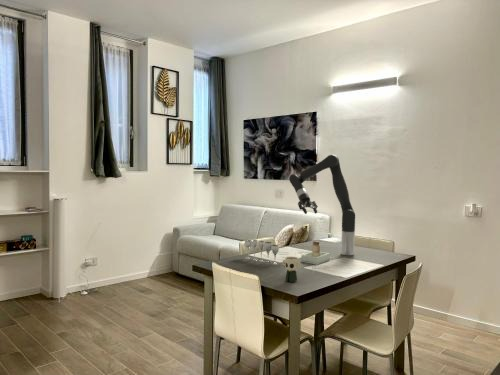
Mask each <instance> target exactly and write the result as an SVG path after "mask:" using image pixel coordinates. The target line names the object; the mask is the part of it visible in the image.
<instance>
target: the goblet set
mask: <svg viewBox="0 0 500 375" xmlns="http://www.w3.org/2000/svg"><path fill="white" fill-rule="evenodd" d="M257 247H258V249H259V252H260V258H262V255H263V254H262V253H263V251H265V252H266V255H267V257H270V256H269V254H270V252H272V254H273V256H274V259H276V258H277V254H278V253H279V250H280V246H279V245H278V244H273V242H271V241H266V242H265V241H264V240H259V241H258V240H257V239H253V240H251V239H250V240H249V239H248V240H244V248H245V249H246V251H247V255H249V251H250V249H253V251H254V252H253V253H254V254H253V256H254V257H253V258H252V259H253V260H252V261H257V260H256V259H257V258H255V257H256V250H257ZM250 258H251V257H249V256H246V257H245V258H244V259H247V260H251V259H250ZM258 260H259V261H258V262H264V261H263V260H264V259H258ZM266 262H269V260H266ZM272 263H273V264H272V265H278V264H277V263H278V262H272Z"/></svg>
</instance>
